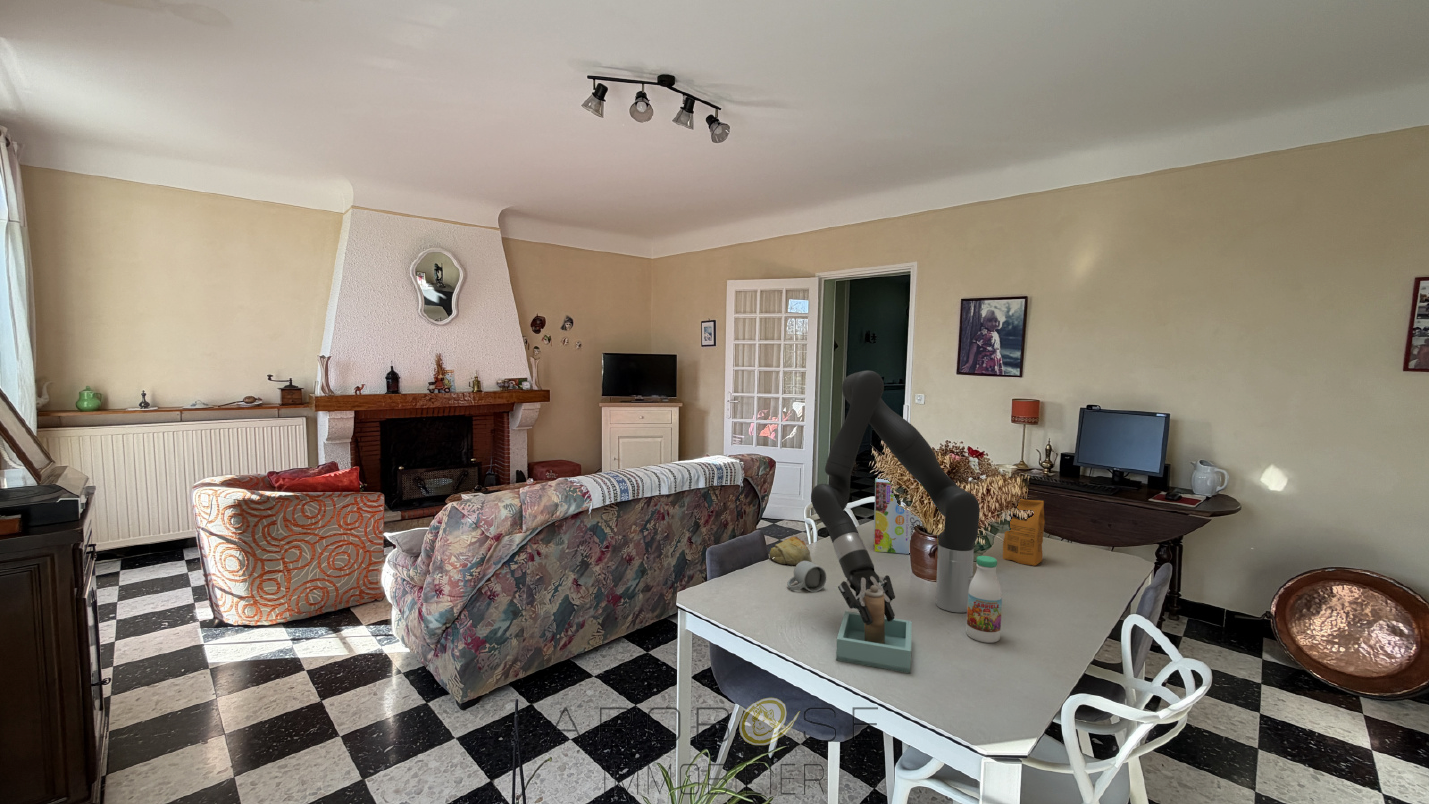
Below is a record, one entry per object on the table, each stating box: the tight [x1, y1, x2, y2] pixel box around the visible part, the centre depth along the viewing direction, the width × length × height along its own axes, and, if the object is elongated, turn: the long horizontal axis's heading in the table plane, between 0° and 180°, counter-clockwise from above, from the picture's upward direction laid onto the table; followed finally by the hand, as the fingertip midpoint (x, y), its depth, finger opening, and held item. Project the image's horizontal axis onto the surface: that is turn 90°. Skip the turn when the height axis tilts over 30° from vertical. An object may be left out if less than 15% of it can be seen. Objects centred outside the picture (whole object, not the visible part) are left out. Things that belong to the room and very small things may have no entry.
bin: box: [835, 610, 913, 674], centre depth 139 cm, size 16×16×5 cm
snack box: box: [873, 477, 922, 555], centre depth 212 cm, size 22×9×26 cm, turn 77°
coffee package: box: [1002, 498, 1046, 566], centre depth 205 cm, size 10×12×22 cm
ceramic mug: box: [786, 561, 827, 593], centre depth 177 cm, size 11×8×8 cm
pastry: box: [768, 536, 812, 566], centre depth 201 cm, size 14×12×8 cm
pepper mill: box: [864, 585, 886, 644], centre depth 139 cm, size 5×5×14 cm
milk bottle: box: [965, 555, 1003, 644], centre depth 147 cm, size 8×8×20 cm
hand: (880, 621), depth 137 cm, fingers open, 5 cm apart
